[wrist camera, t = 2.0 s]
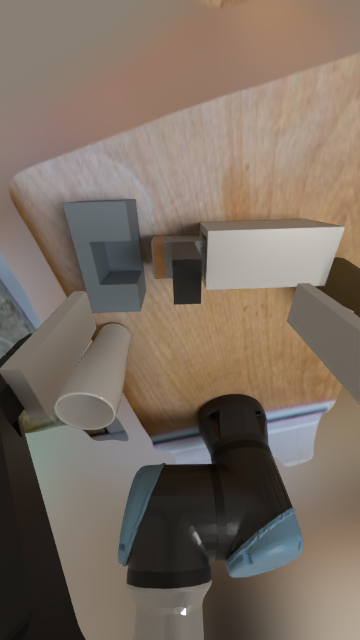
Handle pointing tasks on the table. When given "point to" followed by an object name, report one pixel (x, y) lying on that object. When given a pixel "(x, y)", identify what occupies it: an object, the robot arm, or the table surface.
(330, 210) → the table surface
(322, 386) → the table surface
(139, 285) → the socket
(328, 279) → the olive knob-topped post
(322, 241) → the sleeve
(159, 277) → the sliding bolt
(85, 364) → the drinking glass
